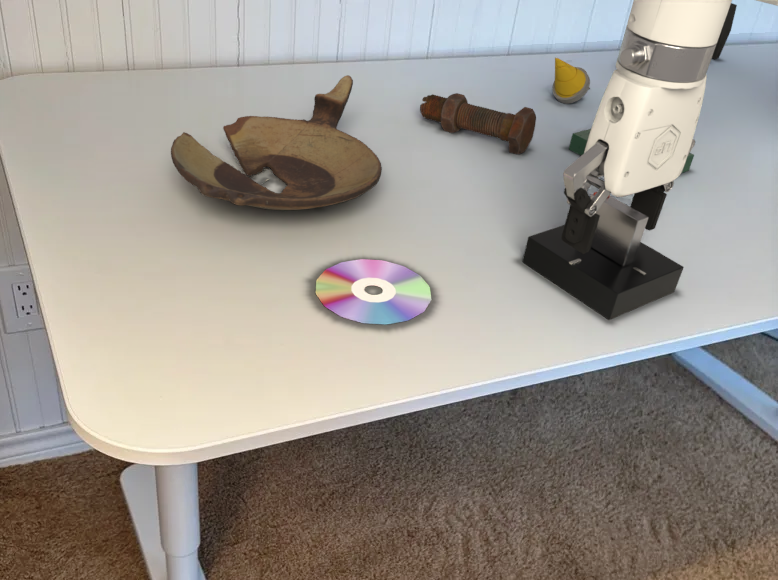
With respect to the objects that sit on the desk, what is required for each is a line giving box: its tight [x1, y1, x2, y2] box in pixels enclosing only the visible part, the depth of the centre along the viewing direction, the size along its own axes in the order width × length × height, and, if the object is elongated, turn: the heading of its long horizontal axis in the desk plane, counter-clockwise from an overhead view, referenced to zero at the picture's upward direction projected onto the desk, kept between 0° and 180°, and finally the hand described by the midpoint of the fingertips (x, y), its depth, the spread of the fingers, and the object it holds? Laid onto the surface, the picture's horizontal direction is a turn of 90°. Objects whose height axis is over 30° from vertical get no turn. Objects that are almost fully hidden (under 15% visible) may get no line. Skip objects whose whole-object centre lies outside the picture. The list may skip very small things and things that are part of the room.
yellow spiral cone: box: [551, 57, 591, 105], centre depth 119 cm, size 5×5×10 cm
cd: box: [315, 258, 432, 325], centre depth 79 cm, size 11×11×1 cm
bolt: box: [419, 92, 537, 155], centre depth 108 cm, size 6×5×15 cm
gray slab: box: [589, 191, 649, 267], centre depth 81 cm, size 6×2×5 cm, turn 36°
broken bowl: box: [170, 74, 383, 211], centre depth 92 cm, size 22×30×8 cm
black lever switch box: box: [522, 224, 685, 321], centre depth 84 cm, size 12×10×3 cm
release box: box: [568, 128, 695, 174], centre depth 107 cm, size 12×10×4 cm
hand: (608, 235), depth 82 cm, fingers open, 9 cm apart
